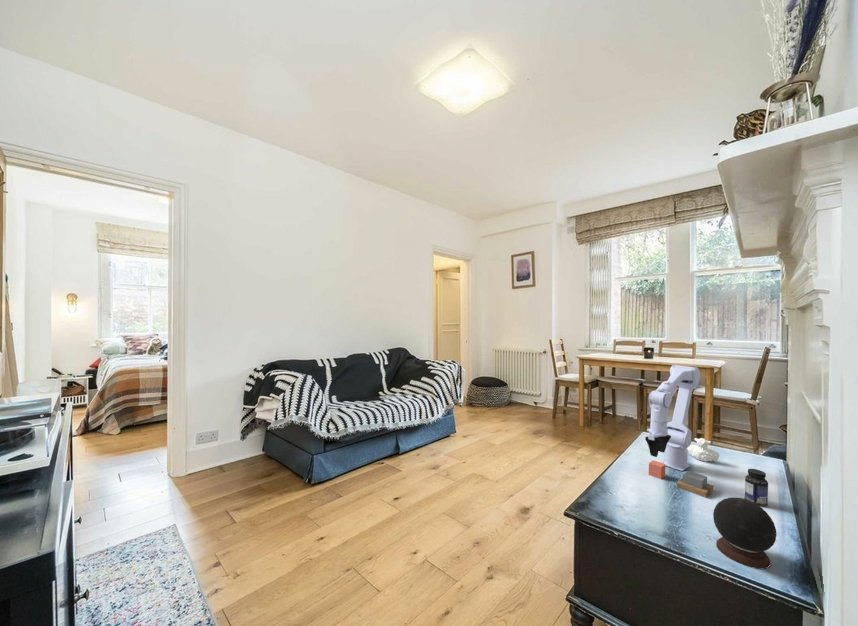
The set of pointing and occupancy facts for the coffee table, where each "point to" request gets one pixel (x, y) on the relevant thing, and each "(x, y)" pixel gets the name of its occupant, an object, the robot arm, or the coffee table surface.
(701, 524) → the coffee table surface
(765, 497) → the pill bottle
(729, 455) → the coffee table surface
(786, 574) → the coffee table surface
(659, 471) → the stack block
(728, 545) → the black and brown oval
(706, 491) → the tower base
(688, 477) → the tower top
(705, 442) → the white lumpy piece
